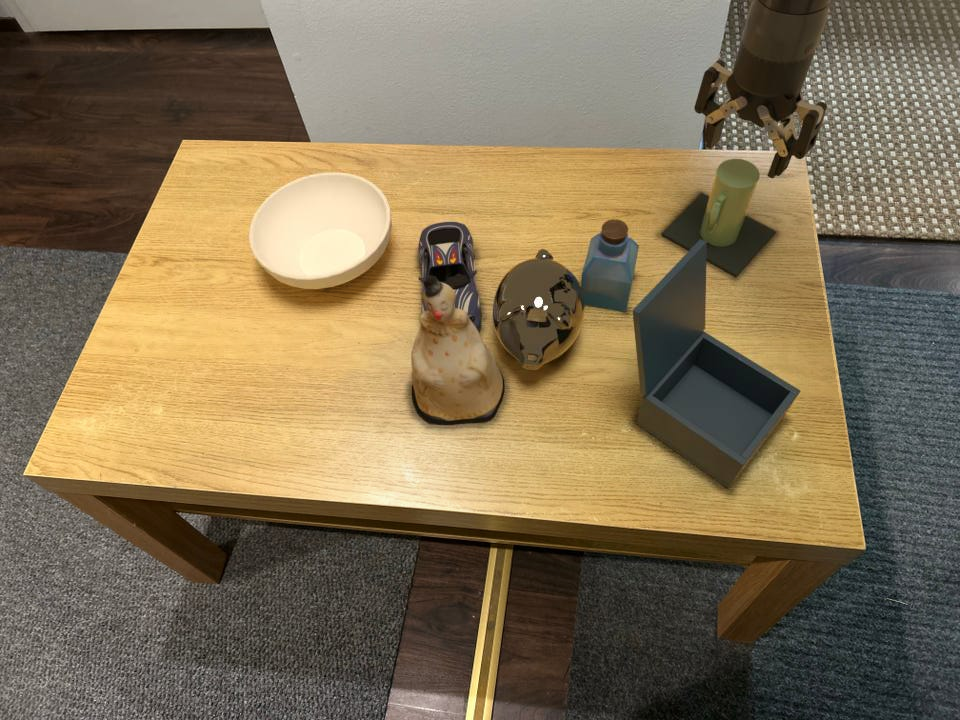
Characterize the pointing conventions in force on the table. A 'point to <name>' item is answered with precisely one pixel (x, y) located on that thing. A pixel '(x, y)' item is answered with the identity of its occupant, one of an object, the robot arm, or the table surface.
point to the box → (715, 408)
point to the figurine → (452, 364)
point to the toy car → (451, 264)
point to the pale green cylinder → (729, 201)
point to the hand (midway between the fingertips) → (742, 159)
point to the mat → (726, 257)
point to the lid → (671, 317)
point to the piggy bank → (538, 310)
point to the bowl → (321, 230)
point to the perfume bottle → (609, 267)
